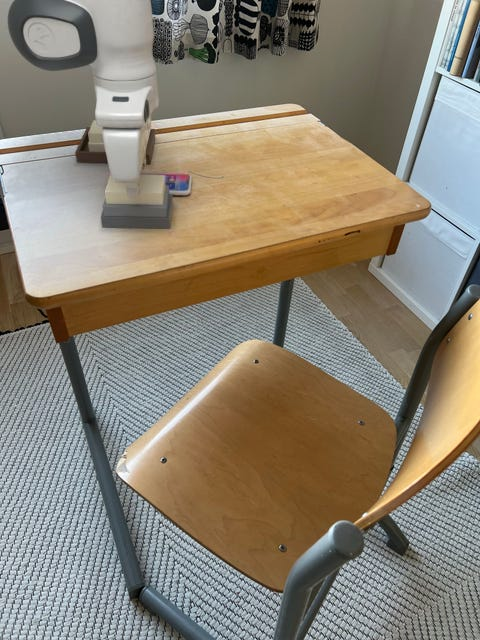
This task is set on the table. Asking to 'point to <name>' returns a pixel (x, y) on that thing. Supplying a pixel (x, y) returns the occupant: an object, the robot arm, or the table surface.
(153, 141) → the book tray
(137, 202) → the cream book
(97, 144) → the cream book base
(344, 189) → the table surface
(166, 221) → the grey book lower
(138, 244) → the table surface
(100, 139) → the cream book middle
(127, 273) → the table surface
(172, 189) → the smartphone
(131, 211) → the grey book upper
